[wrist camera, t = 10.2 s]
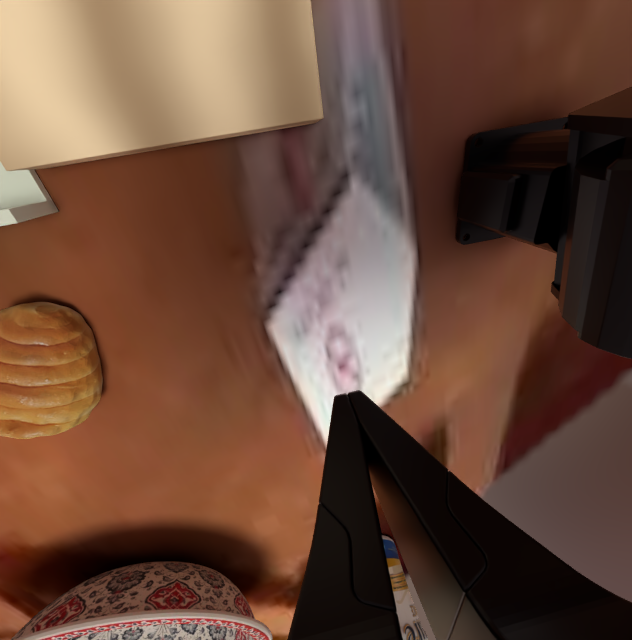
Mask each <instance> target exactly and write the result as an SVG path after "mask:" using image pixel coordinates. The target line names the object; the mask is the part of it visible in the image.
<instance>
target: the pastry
mask: <svg viewBox="0 0 632 640" xmlns="http://www.w3.org/2000/svg"><path fill="white" fill-rule="evenodd" d="M101 371H102V369H101V364H100V358H99V355H98V351H97V347H96V342H95V339H94V336H93V333H92V330H91V329H90V327H89V326H88V325H87V324H86V322H85V321H84V319H83V317H82V316H81V315H80V314H79V313H77V312H75V311H74V310H72V309H71V308H68V307H64V306H60V305H57V304H53V303H49V302H34V303H26V304H20V305H16V306H13V307H9V308H5V309H2V310H1V311H0V436H6V437H11V438H17V439H29V438H34V437H38V436H52V435H55V434H58V433H61V432H64V431H66V430H68V429H70V428H72V427H75V426H77V425H78V424H80V423H82V422H83V421H85V420H86V419H87V418H88V417H89V415H90V413H91V411H92V409H93V408H94V407H95V406H96V405H97V403H98V402H99V401H100V398H101V392H102V384H103V377H102V372H101Z"/></svg>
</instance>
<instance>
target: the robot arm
mask: <svg viewBox="0 0 632 640" xmlns="http://www.w3.org/2000/svg"><path fill="white" fill-rule="evenodd" d="M564 124H565V127H564V129H563V126H564ZM476 139H478V145H477V146H476V147H475V141H476ZM457 217H458V224H457V233H456V240H457V242H459V243H461V244H463V245H466V244H471V243H476V242H481V241H486V240H491V239H496V238H501V237H509V238H512V239H515V240H518V241H521V242H524V243H527V244H530V245H533V246H536V247H539V248H542V249H545V250H548V251H551V252H554V253H557V260H556V269H555V279H554V281H553V282H552V284H551V292H552V294H553V295H554V296H555V297H556V298H557V299H558V300H559V303H558V306H559V309H560V312H561V315H562V317H563V318H564V319H565V320H566V321H567V322H568V323H569V324H570V325H571V326H572V327H573V328H574V329H575V330H577V331H578V333H577V335H578V338H580V339H581V340H583V341H585V342H587V343H589V344H591V345H593V346H595V347H597V348H599V349H602V350H604V351H607V352H610V353H613V354H616V355H619V356H622V357H626V358H631V359H632V87H630V88H628V89H625V90H623V91H621V92H618V93H616V94H614V95H611V96H609V97H606V98H604V99H602V100H599V101H597V102H595V103H592V104H590V105H588V106H585V107H583V108H581V109H578V110H576V111H574V112H571V113H569V115H568V117H563V118H558V119H552V120H546V121H541V122H535V123H529V124H524V125H518V126H512V127H507V128H501V129H495V130H490V131H484V132H478V133H474V134H472V135H471V136H470V137H469V139H468V140H467V144H466V152H465V161H464V170H463V175H462V177H461V186H460V196H459V205H458V214H457ZM465 234H466V238H465V239H463V236H464V235H465ZM371 482H372V483H371ZM372 485H373V487H374V489H375V492H376V494H377V497H378V499H379V502H380V504H381V506H382V509H383V511H384V514H385V516H386V519H387V521H388V523H389V526H390V528H391V531H392V533H393V536H394V538H395V541H396V543H397V545H398V548H399V550H400V553H401V555H402V558H403V560H404V562H405V565H406V567H407V570H408V572H409V575H410V577H411V579H412V582H413V584H414V587H415V589H416V591H417V594H418V596H419V599H420V601H421V604H422V606H423V609H424V611H425V613H426V616H427V618H428V621H429V623H430V626H431V628H432V631H433V633H434V635H435V638H436V640H632V602H630V601H627V600H625V599H623V598H621V597H619V596H617V595H615V594H613V593H612V592H610V591H608V590H606V589H604V588H602V587H601V586H599V585H598V584H596V583H594V582H593V581H591V580H589V579H588V578H586V577H585V576H583V575H582V574H580V573H578V572H577V571H576V570H574V569H573V568H572V567H571V566H569V565H567V564H566V563H565V562H564V561H562V560H561V559H560V558H558V557H557V556H556V555H554V554H553V553H552V552H551V551H549V550H548V549H547V548H545V547H544V546H542V545H541V544H540V543H539V542H537V541H536V540H535V539H533V538H532V537H531V536H529V535H528V534H526V533H525V532H524V531H523V530H521V529H520V528H519V527H517V526H516V525H515V524H513V523H512V522H511V521H509V520H508V519H507V518H505V517H504V516H503V515H502V514H500V513H499V512H498V511H497V510H495V509H494V508H493V507H491V506H490V505H489V504H488V503H486V502H485V501H484V500H482V499H481V498H480V497H479V496H478V495H477V494H476V493H474V492H473V491H472V490H471V489H470V488H469V487H467V486H466V485H465V484H464V483H463V482H462V481H461V480H459V479H458V478H457V477H456V476H455V475H454V474H453V473H452V472H450V471H448V469H447V468H446V467H445V466H444V465H443V464H442V463H440V462H439V461H438V460H437V459H436V458H435V457H434V456H433V455H432V454H430V453H429V452H428V451H427V450H426V449H425V448H424V447H423V446H422V445H420V444H419V443H418V442H417V441H416V440H415V439H414V438H413V437H412V436H411V435H409V434H408V433H407V432H406V431H405V430H404V429H403V428H402V427H401V426H399V425H398V424H397V423H396V422H395V421H394V420H393V419H392V418H391V417H389V416H388V415H387V414H386V413H385V412H384V411H383V410H382V409H381V408H379V407H378V406H377V405H376V404H375V403H374V402H373V401H372V400H371V399H369V398H368V397H367V396H366V395H365V394H364V393H363V392H362V391H360V390H358V391H353V392H349V393H348V395H347V394H346V393H344V394H340V395H336V396H335V397H334V402H333V408H332V415H331V422H330V429H329V436H328V443H327V450H326V456H325V463H324V470H323V477H322V484H321V491H320V497H319V505H318V510H317V517H316V523H315V529H314V534H313V540H312V545H311V549H310V554H309V558H308V562H307V567H306V571H305V575H304V579H303V582H302V586H301V590H300V594H299V598H298V601H297V605H296V609H295V613H294V617H293V620H292V624H291V628H290V632H289V636H288V639H287V640H403V638H402V633H401V628H400V623H399V618H398V615H397V608H396V603H395V598H394V593H393V588H392V583H391V578H390V573H389V568H388V563H387V558H386V553H385V548H384V543H383V538H382V533H381V528H380V523H379V518H378V513H377V508H376V503H375V498H374V493H373V488H372Z"/></svg>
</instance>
